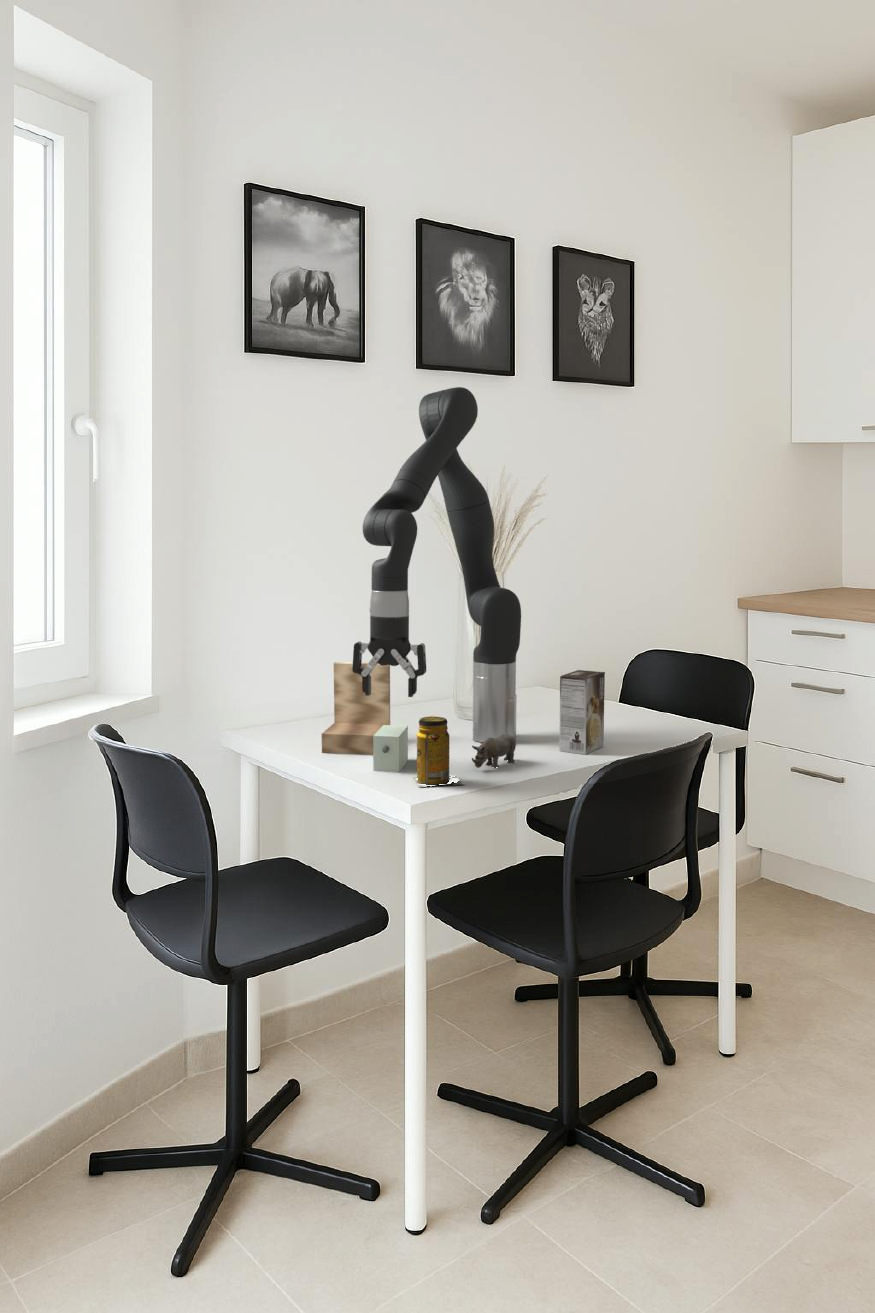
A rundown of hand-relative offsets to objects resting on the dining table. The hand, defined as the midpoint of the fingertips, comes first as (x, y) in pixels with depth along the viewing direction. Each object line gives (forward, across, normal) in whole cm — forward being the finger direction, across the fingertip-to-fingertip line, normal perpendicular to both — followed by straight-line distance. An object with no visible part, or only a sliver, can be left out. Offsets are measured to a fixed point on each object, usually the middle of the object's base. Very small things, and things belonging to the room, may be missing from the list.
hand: (389, 695), depth 209 cm
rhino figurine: (+14, -20, -2) cm, 25 cm away
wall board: (+14, +10, -19) cm, 26 cm away
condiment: (+14, -12, +11) cm, 21 cm away
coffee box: (+14, -37, -19) cm, 44 cm away
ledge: (+14, +10, -13) cm, 21 cm away
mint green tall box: (+14, 0, 0) cm, 14 cm away
